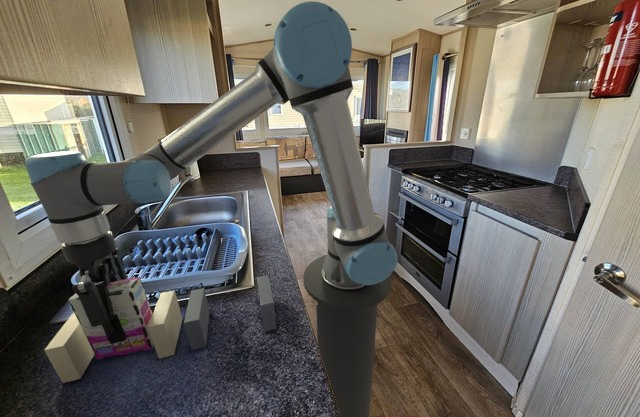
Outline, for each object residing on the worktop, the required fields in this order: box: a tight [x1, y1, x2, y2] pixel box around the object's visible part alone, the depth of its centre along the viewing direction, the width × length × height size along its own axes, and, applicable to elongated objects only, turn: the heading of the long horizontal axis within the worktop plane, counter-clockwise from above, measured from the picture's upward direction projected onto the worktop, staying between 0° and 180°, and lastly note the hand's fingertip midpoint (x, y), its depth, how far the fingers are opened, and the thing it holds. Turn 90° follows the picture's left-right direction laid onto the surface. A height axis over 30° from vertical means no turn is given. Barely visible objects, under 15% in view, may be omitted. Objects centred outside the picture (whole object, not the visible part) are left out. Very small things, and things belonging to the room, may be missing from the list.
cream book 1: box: [43, 311, 95, 384], centre depth 55 cm, size 3×11×9 cm, turn 17°
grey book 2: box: [256, 274, 278, 332], centre depth 66 cm, size 3×11×8 cm, turn 17°
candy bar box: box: [67, 276, 155, 360], centre depth 56 cm, size 11×5×16 cm, turn 102°
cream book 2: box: [148, 289, 184, 359], centre depth 60 cm, size 3×11×9 cm, turn 17°
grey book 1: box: [183, 287, 211, 351], centre depth 62 cm, size 3×11×8 cm, turn 17°
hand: (123, 330), depth 57 cm, fingers closed on candy bar box, 5 cm apart
